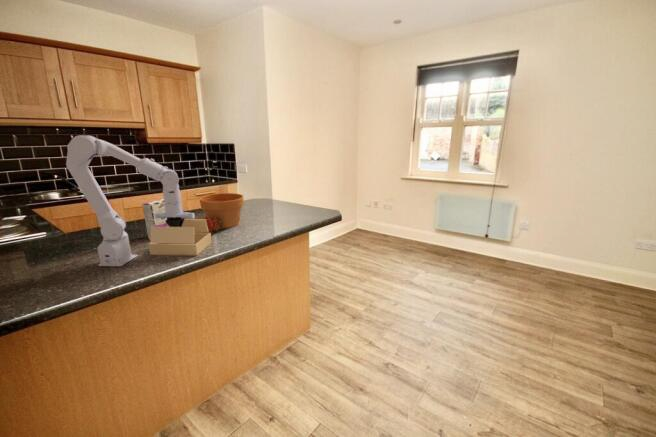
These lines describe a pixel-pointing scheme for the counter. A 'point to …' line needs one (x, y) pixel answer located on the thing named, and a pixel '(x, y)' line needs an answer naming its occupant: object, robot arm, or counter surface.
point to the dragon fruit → (213, 224)
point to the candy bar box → (149, 213)
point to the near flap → (172, 235)
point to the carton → (182, 246)
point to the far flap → (196, 224)
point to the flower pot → (223, 207)
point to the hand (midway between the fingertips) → (177, 235)
